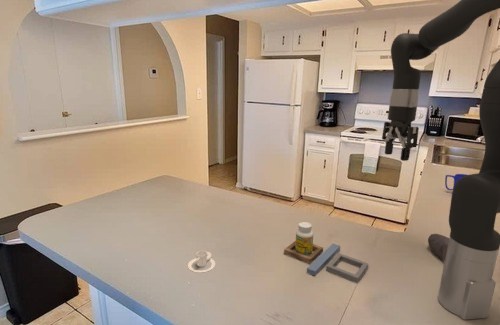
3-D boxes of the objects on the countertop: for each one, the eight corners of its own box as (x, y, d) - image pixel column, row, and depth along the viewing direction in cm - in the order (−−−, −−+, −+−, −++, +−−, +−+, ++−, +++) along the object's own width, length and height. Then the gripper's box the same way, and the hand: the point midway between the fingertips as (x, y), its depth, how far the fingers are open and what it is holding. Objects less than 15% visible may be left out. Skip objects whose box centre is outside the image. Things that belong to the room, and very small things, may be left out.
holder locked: (322, 251, 96) (323, 247, 96) (309, 264, 89) (310, 259, 89) (298, 242, 101) (298, 238, 101) (283, 253, 95) (284, 249, 94)
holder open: (368, 268, 88) (368, 263, 87) (357, 283, 81) (358, 278, 80) (338, 257, 93) (338, 253, 93) (326, 270, 86) (326, 265, 86)
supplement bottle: (314, 251, 96) (316, 223, 94) (308, 258, 92) (311, 230, 90) (298, 246, 99) (300, 219, 97) (292, 254, 94) (294, 226, 92)
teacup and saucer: (204, 254, 94) (204, 242, 93) (222, 264, 89) (222, 251, 88) (182, 266, 88) (181, 254, 87) (200, 277, 83) (200, 264, 82)
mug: (443, 189, 159) (446, 171, 156) (471, 194, 152) (475, 175, 149) (442, 194, 152) (445, 175, 150) (471, 199, 145) (475, 179, 143)
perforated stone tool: (420, 246, 101) (424, 227, 99) (435, 245, 101) (439, 226, 100) (452, 272, 86) (457, 250, 85) (470, 272, 87) (475, 250, 85)
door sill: (332, 247, 99) (332, 243, 98) (339, 250, 97) (340, 245, 97) (306, 272, 85) (307, 268, 85) (314, 276, 83) (315, 271, 83)
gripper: (378, 103, 97) (373, 152, 101) (406, 106, 83) (398, 162, 87) (400, 103, 98) (393, 152, 102) (431, 106, 84) (422, 162, 88)
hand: (396, 157), depth 94 cm, fingers open, 8 cm apart
